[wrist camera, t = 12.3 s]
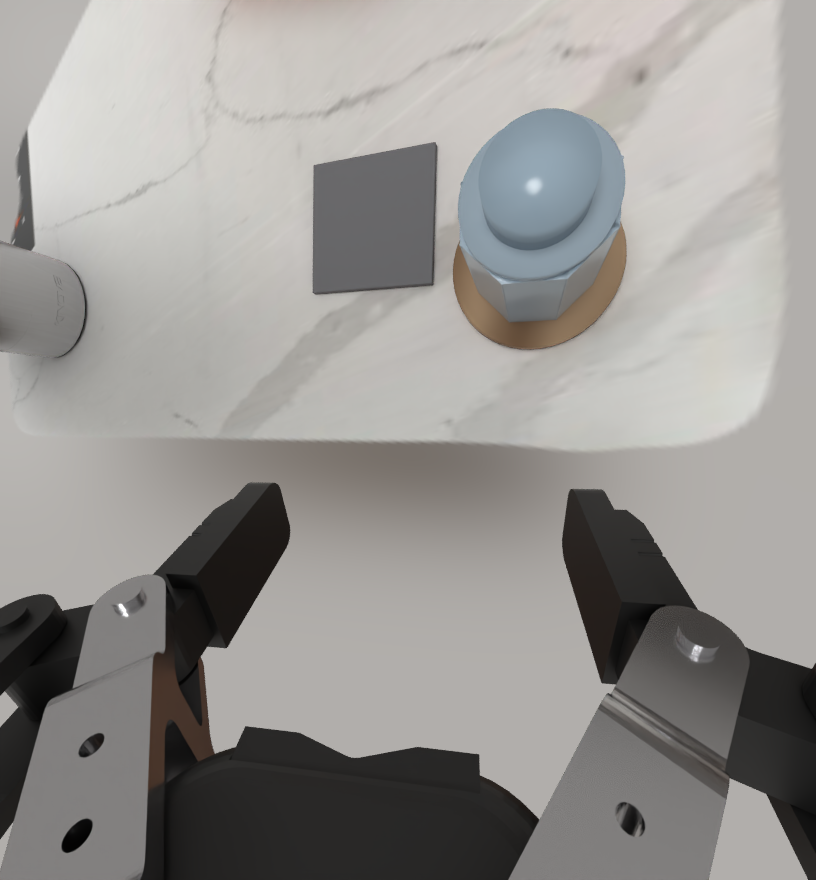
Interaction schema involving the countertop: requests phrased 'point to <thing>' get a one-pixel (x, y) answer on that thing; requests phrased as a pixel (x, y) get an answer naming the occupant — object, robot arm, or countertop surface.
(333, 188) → the mat
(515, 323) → the tan flat disc
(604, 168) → the blue jar
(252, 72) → the countertop surface
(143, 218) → the countertop surface
